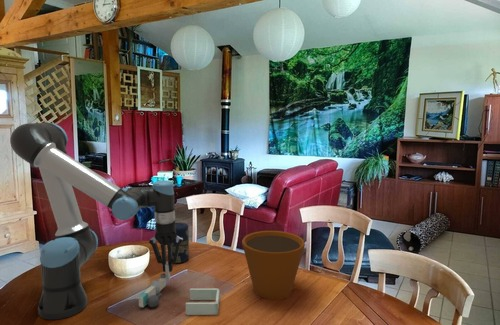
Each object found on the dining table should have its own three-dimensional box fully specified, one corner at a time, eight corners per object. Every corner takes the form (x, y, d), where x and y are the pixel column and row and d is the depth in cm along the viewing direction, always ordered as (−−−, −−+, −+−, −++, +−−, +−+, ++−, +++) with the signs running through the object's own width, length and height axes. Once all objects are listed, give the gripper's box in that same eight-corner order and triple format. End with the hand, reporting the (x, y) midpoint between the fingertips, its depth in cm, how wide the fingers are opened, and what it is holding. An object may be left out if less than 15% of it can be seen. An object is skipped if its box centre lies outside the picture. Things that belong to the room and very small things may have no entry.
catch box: (185, 314, 120) (185, 303, 120) (190, 298, 131) (189, 288, 130) (217, 314, 120) (217, 303, 120) (219, 298, 131) (219, 288, 130)
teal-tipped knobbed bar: (137, 306, 123) (136, 293, 123) (161, 284, 140) (160, 273, 139) (144, 307, 123) (144, 295, 122) (168, 285, 139) (167, 273, 138)
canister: (186, 264, 161) (186, 225, 158) (165, 264, 161) (165, 225, 158) (190, 256, 170) (190, 219, 168) (170, 255, 170) (170, 219, 168)
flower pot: (228, 290, 137) (229, 240, 135) (268, 271, 155) (269, 226, 152) (277, 314, 121) (278, 258, 119) (315, 289, 139) (317, 240, 136)
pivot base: (148, 298, 130) (148, 297, 130) (151, 292, 135) (151, 291, 135) (160, 298, 130) (160, 296, 130) (162, 292, 135) (162, 291, 135)
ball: (146, 309, 123) (145, 298, 123) (149, 303, 127) (148, 293, 127) (157, 309, 123) (157, 298, 123) (160, 303, 127) (160, 292, 127)
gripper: (145, 224, 132) (149, 284, 136) (180, 224, 132) (183, 283, 136) (150, 218, 139) (154, 274, 143) (183, 217, 140) (185, 274, 143)
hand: (168, 278), depth 139 cm, fingers closed
